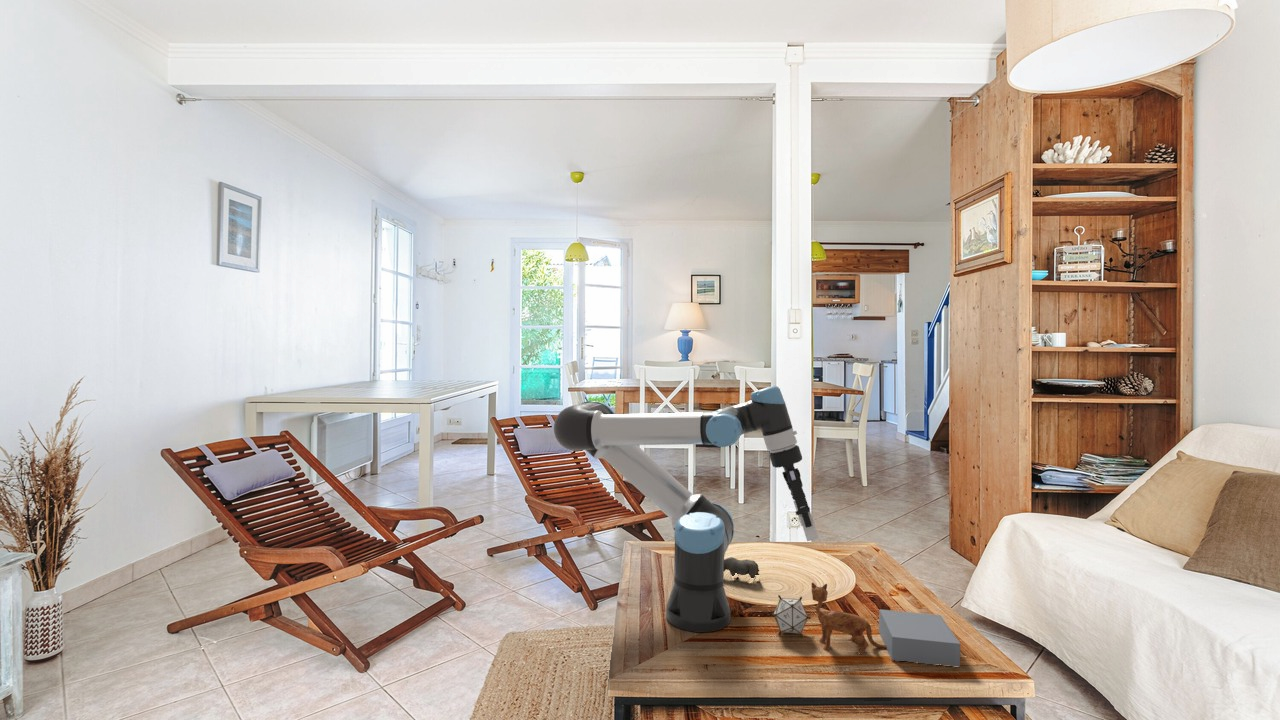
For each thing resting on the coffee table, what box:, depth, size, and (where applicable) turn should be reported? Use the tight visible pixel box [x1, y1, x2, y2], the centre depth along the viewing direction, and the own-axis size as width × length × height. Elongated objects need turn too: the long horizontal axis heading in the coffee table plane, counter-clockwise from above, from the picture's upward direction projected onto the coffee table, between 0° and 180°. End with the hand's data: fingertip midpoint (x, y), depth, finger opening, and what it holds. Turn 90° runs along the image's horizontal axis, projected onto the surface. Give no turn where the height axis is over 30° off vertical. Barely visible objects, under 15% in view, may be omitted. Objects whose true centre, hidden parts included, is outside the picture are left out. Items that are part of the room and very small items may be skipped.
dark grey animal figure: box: [724, 556, 760, 578], centre depth 165 cm, size 4×14×6 cm, turn 72°
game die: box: [769, 594, 812, 638], centre depth 135 cm, size 9×8×10 cm
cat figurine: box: [811, 582, 887, 655], centre depth 129 cm, size 18×7×14 cm, turn 87°
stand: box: [878, 608, 961, 667], centre depth 129 cm, size 13×13×5 cm
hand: (809, 531), depth 147 cm, fingers open, 13 cm apart
